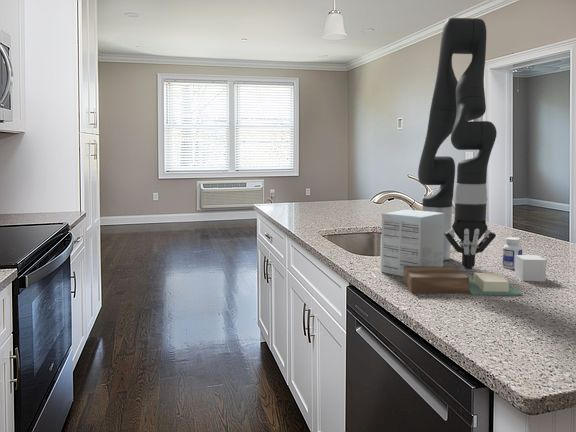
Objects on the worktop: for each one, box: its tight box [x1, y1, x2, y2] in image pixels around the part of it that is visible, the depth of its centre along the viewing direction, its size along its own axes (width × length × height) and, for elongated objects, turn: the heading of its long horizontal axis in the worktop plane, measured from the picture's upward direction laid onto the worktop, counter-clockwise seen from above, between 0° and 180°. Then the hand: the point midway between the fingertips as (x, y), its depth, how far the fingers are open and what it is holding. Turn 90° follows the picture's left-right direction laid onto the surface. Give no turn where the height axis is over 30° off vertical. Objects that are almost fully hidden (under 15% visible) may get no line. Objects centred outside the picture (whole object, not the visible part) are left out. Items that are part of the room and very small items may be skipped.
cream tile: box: [473, 272, 510, 292], centre depth 127 cm, size 9×6×2 cm, turn 174°
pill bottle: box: [502, 237, 523, 270], centre depth 149 cm, size 5×5×9 cm
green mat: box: [469, 278, 523, 296], centre depth 128 cm, size 14×12×1 cm
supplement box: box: [380, 209, 445, 277], centre depth 144 cm, size 13×13×18 cm
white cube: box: [514, 254, 548, 282], centre depth 136 cm, size 6×6×6 cm
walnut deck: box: [402, 266, 470, 295], centre depth 128 cm, size 12×14×4 cm
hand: (468, 268), depth 127 cm, fingers closed
